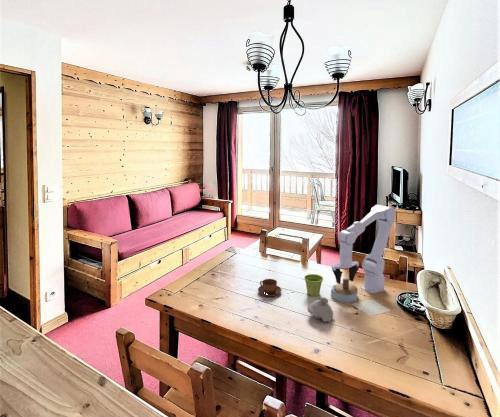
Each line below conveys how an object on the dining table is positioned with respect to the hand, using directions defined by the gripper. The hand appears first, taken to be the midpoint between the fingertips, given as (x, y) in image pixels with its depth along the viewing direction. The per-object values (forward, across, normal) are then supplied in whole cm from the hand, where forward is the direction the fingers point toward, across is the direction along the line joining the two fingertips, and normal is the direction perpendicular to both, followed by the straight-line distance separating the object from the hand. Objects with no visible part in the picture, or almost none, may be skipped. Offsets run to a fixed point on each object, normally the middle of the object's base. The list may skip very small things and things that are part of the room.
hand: (344, 281), depth 156 cm
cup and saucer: (+8, +32, -19) cm, 38 cm away
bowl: (+8, 0, 0) cm, 8 cm away
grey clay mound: (+8, +21, +11) cm, 26 cm away
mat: (+8, -4, +14) cm, 17 cm away
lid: (+4, 0, +1) cm, 4 cm away
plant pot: (+8, +12, -9) cm, 17 cm away
